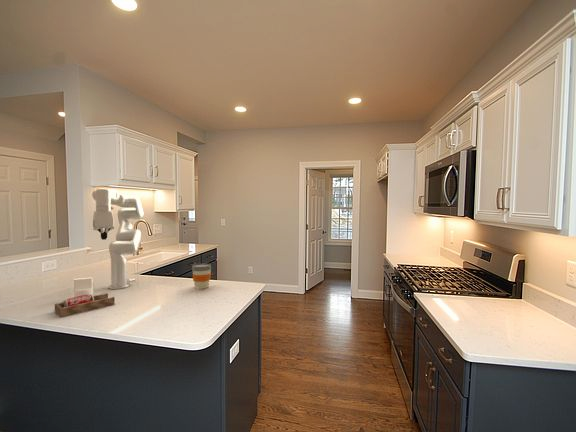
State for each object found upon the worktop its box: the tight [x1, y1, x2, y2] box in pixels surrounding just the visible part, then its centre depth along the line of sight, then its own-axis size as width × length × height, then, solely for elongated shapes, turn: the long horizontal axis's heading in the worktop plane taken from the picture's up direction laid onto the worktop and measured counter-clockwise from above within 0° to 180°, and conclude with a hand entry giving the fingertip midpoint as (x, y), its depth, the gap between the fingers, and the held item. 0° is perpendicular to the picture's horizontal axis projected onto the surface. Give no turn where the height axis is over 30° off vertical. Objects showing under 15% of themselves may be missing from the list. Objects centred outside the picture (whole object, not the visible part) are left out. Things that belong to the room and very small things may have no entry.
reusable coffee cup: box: [191, 263, 212, 290], centre depth 190 cm, size 13×12×15 cm
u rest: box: [54, 292, 116, 318], centre depth 150 cm, size 24×12×4 cm, turn 140°
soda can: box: [63, 294, 94, 307], centre depth 148 cm, size 7×7×12 cm
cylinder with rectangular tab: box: [73, 276, 94, 297], centre depth 166 cm, size 9×9×12 cm
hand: (104, 239), depth 168 cm, fingers closed
